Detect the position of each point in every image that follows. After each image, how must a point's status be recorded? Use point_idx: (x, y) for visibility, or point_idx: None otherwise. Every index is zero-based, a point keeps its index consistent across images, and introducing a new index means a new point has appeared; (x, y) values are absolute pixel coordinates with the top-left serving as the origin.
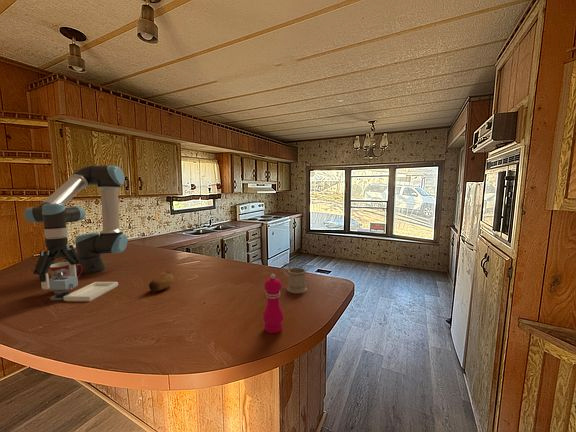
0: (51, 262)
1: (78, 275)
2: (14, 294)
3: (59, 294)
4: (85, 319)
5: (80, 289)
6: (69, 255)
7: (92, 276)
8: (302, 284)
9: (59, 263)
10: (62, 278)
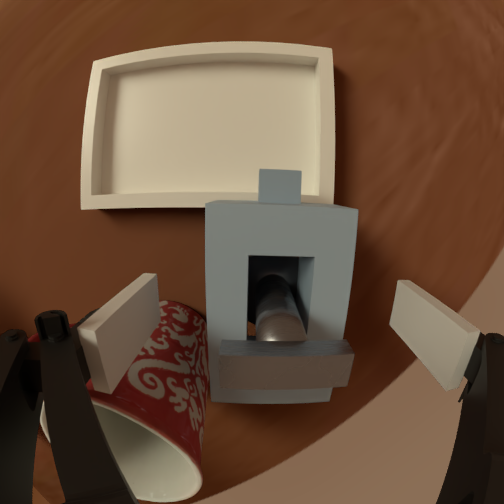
0: (498, 423)
1: None
2: (231, 470)
3: None
4: (452, 16)
5: (212, 193)
6: (64, 477)
7: None
8: None
9: None
10: (279, 301)
